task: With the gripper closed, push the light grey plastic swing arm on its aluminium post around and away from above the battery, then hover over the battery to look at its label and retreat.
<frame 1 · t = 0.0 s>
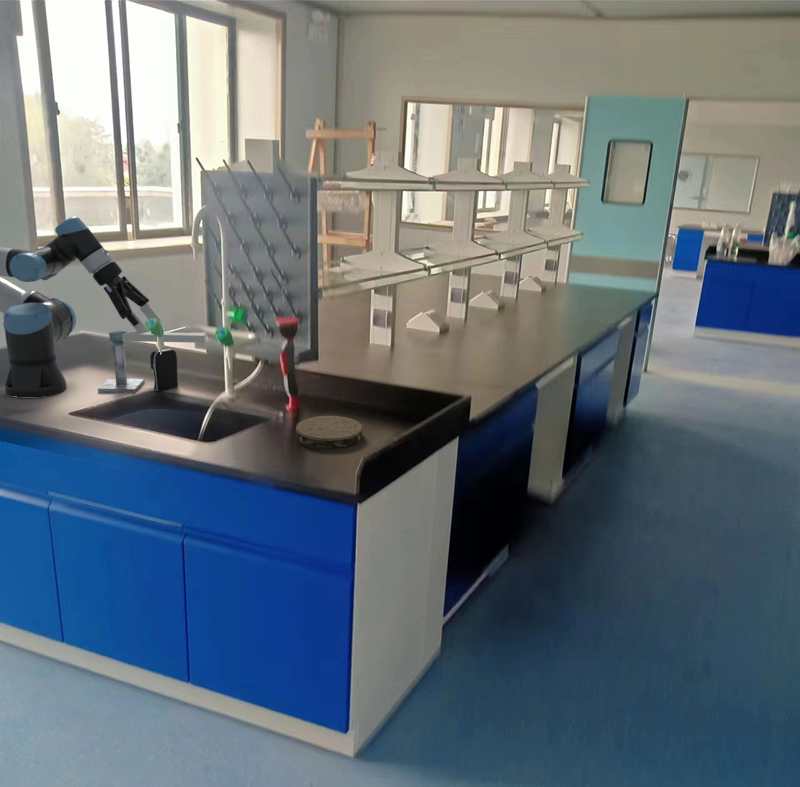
hand: (151, 328, 213), 15 cm above the countertop, tool tilted 35°, fingers open, 13 cm apart
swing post: (122, 387, 208), on the countertop
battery: (164, 389, 209), on the countertop
grey round disc: (329, 439, 177), on the countertop
swing arm: (157, 337, 205), point 15 cm above the countertop, hinge at 0.0°
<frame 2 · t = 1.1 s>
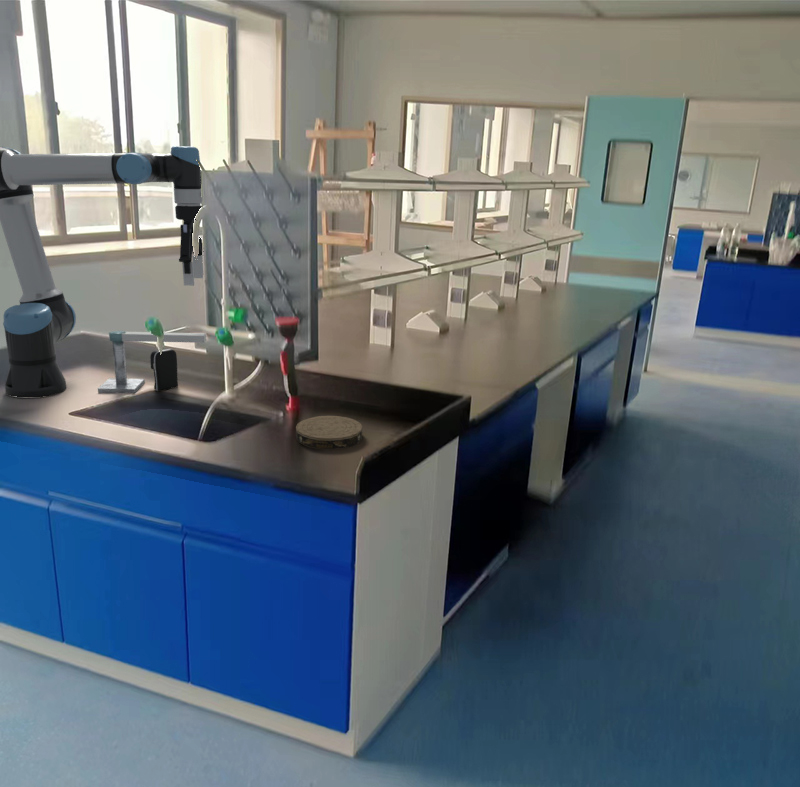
hand: (194, 281, 210), 29 cm above the countertop, tool pointing down, fingers open, 12 cm apart
nothing on the countertop moved.
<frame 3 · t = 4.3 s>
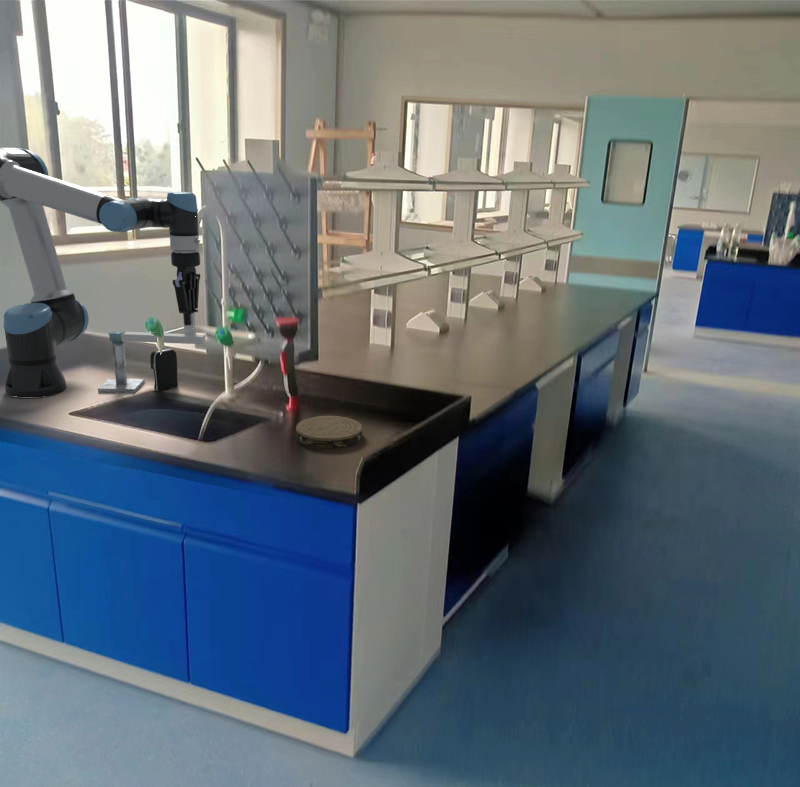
hand: (190, 335, 206), 15 cm above the countertop, tool pointing down, fingers closed
swing arm: (156, 337, 204), point 15 cm above the countertop, hinge at -4.4°, touching gripper
everything else where it was.
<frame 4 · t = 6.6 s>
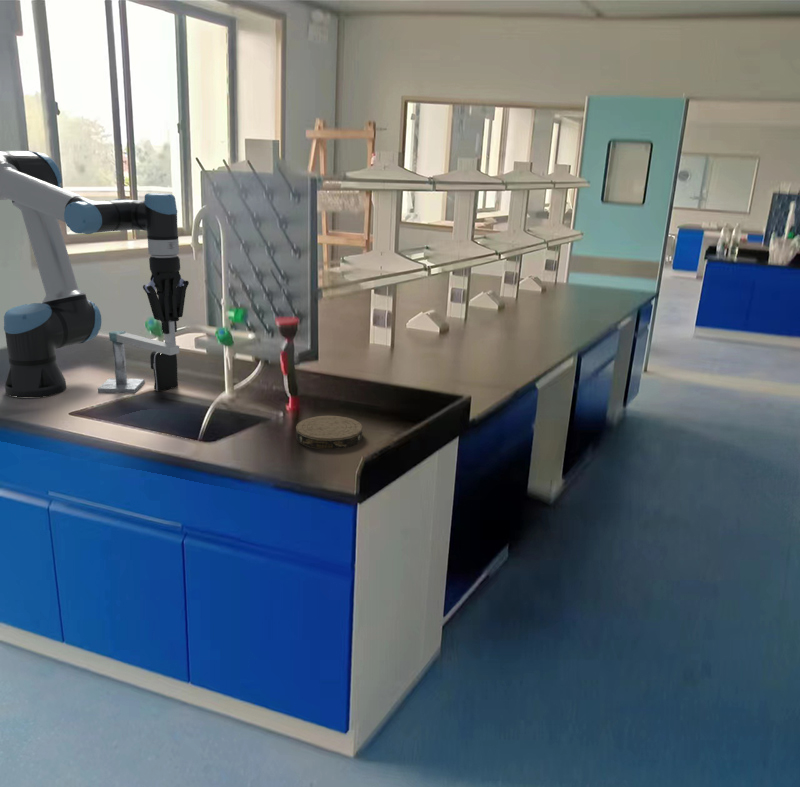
hand: (170, 344, 195), 15 cm above the countertop, tool pointing down, fingers closed
swing arm: (142, 342, 198), point 15 cm above the countertop, hinge at -37.8°, touching gripper
everything else where it was.
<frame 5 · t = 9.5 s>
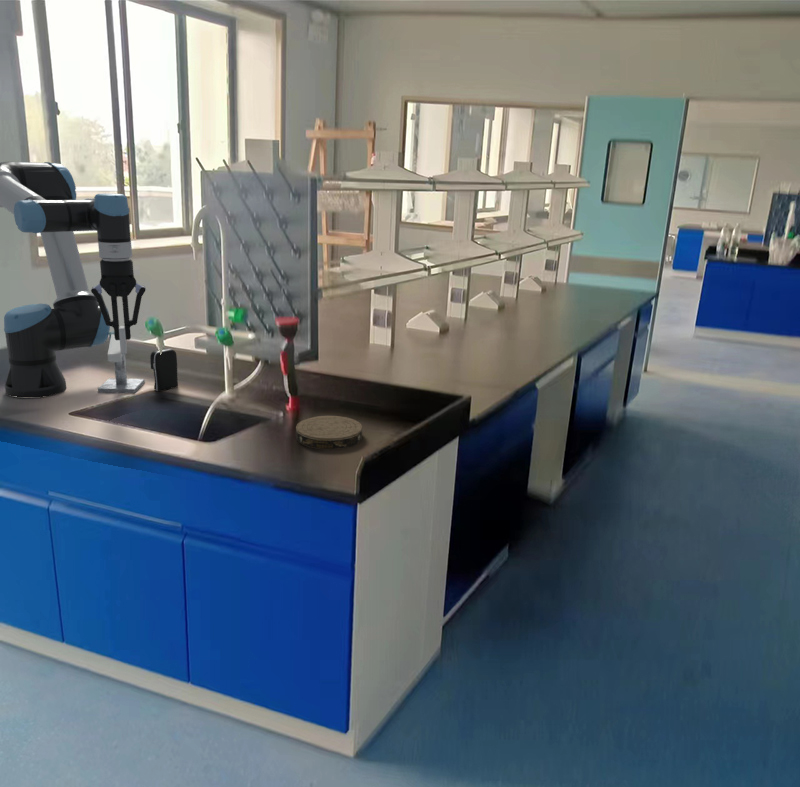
hand: (124, 352, 187), 15 cm above the countertop, tool pointing down, fingers closed
swing arm: (116, 345, 194), point 15 cm above the countertop, hinge at -75.1°, touching gripper
everything else where it was.
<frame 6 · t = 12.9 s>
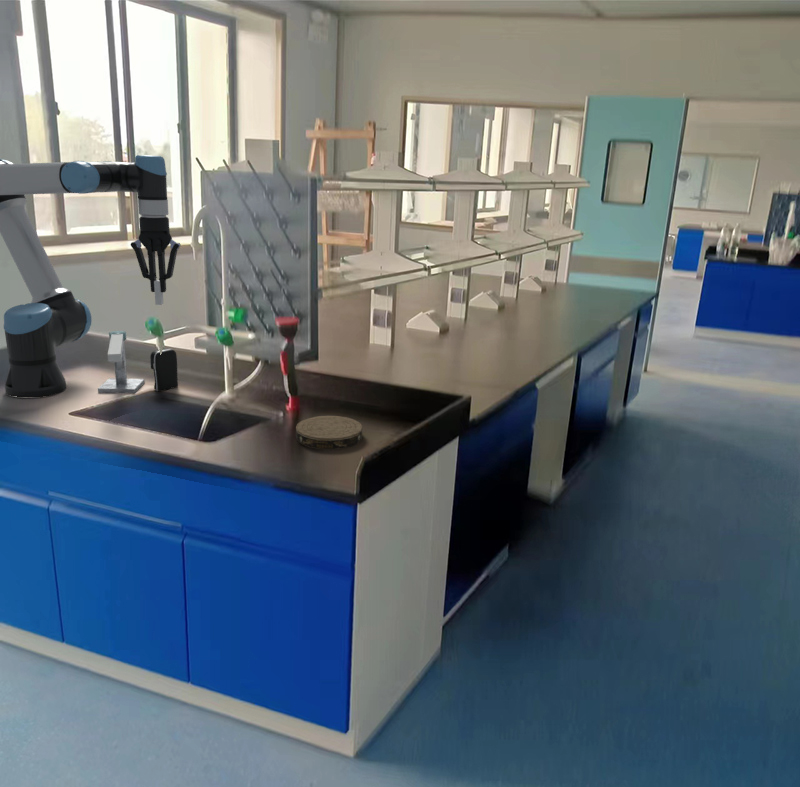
hand: (159, 303, 202), 24 cm above the countertop, tool pointing down, fingers closed
swing arm: (116, 345, 194), point 15 cm above the countertop, hinge at -75.1°
everything else where it was.
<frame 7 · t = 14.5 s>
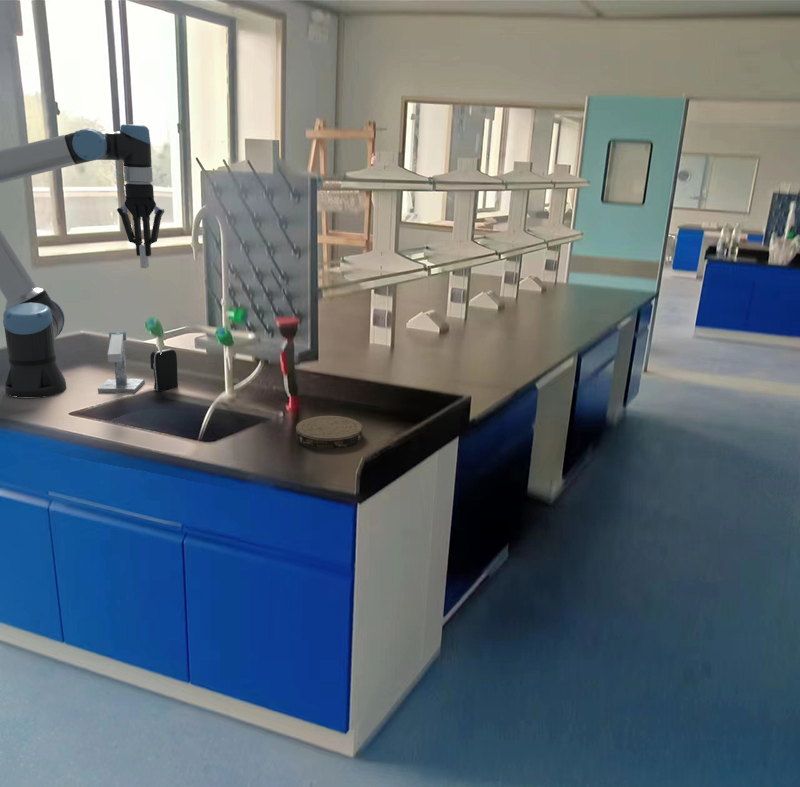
hand: (144, 267, 213), 32 cm above the countertop, tool pointing down, fingers closed
nothing on the countertop moved.
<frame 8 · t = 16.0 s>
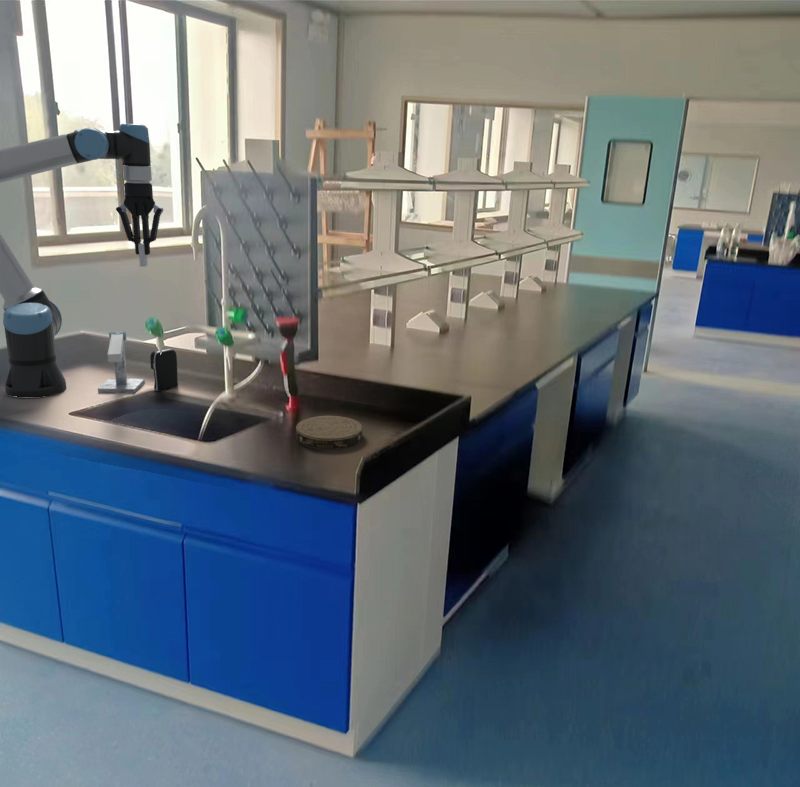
hand: (143, 265, 214), 32 cm above the countertop, tool pointing down, fingers closed
nothing on the countertop moved.
at the end: swing arm at -75° (first picture: +0°); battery moved 0.2 cm from its start; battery tilted 0° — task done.
